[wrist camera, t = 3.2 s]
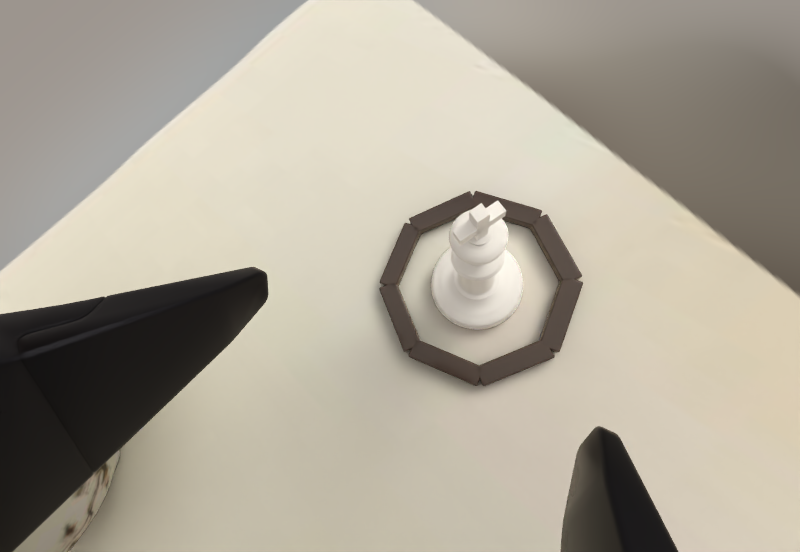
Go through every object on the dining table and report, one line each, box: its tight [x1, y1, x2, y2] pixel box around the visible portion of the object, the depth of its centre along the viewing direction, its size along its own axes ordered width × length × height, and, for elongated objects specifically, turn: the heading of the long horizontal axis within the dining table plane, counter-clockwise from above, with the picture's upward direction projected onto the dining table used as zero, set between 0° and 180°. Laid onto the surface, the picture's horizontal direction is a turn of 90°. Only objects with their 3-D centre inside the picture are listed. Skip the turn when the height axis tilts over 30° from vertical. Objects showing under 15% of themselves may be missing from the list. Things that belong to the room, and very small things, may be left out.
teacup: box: [13, 449, 120, 552], centre depth 19 cm, size 15×12×8 cm
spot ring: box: [380, 191, 583, 386], centre depth 20 cm, size 10×10×1 cm
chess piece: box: [431, 200, 523, 330], centre depth 16 cm, size 5×5×10 cm
